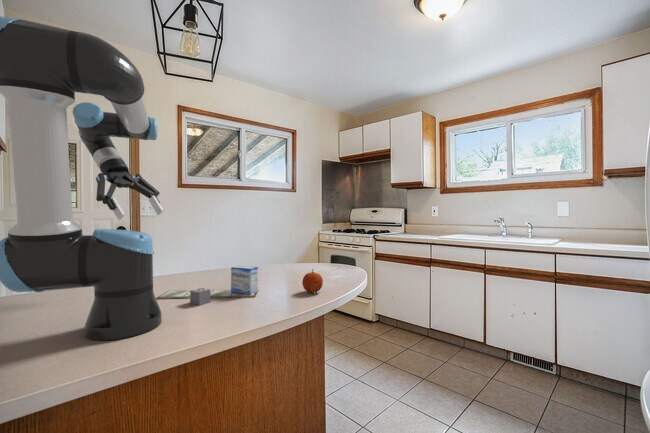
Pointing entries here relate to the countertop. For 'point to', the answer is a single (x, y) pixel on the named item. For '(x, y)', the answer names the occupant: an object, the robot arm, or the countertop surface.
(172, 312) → the countertop surface
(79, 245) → the robot arm
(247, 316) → the countertop surface
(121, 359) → the countertop surface
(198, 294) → the grey toy brick
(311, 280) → the fruit
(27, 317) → the countertop surface
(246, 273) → the medicine box
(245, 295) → the board
